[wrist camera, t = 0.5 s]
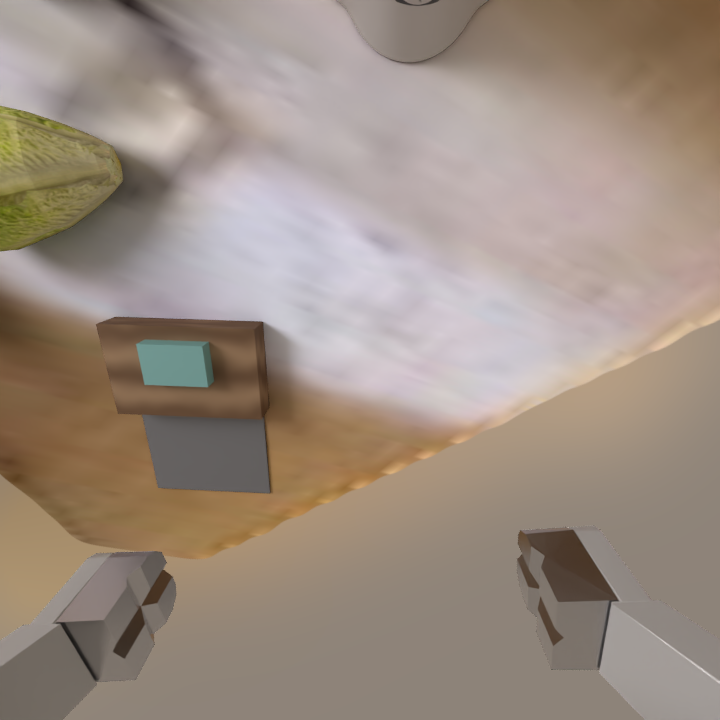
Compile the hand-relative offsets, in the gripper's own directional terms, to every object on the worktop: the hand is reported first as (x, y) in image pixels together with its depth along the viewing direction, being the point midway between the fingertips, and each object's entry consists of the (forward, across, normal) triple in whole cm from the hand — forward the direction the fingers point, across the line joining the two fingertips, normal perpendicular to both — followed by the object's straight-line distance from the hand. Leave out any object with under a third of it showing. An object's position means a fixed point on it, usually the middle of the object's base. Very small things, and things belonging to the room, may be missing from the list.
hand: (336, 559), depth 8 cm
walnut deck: (+45, +28, +10) cm, 54 cm away
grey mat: (+45, +30, +26) cm, 60 cm away
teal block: (+41, +28, +8) cm, 50 cm away
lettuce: (+45, +40, -17) cm, 63 cm away
